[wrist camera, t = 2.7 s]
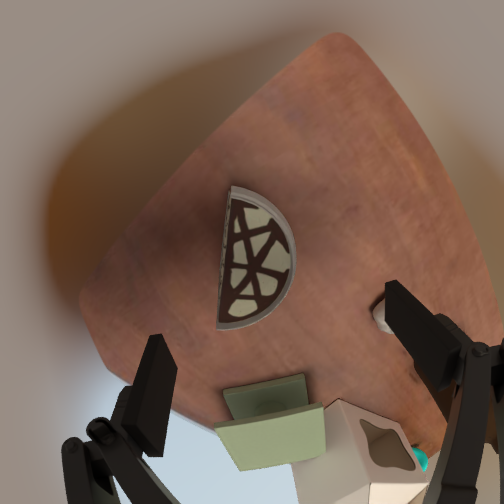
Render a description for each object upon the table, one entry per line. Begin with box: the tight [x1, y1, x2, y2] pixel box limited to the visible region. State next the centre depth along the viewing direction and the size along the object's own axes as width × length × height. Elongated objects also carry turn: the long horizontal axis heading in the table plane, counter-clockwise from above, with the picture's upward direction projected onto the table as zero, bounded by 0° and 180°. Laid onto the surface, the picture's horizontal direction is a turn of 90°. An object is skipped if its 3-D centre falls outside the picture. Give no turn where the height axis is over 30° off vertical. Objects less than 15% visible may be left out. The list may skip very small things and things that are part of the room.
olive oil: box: [414, 362, 499, 454], centre depth 31 cm, size 11×11×25 cm
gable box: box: [291, 399, 429, 504], centre depth 35 cm, size 22×13×28 cm, turn 52°
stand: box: [214, 373, 326, 471], centre depth 39 cm, size 14×14×8 cm
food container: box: [216, 186, 296, 330], centre depth 28 cm, size 12×6×10 cm, turn 172°
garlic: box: [373, 299, 394, 334], centre depth 35 cm, size 6×5×5 cm
